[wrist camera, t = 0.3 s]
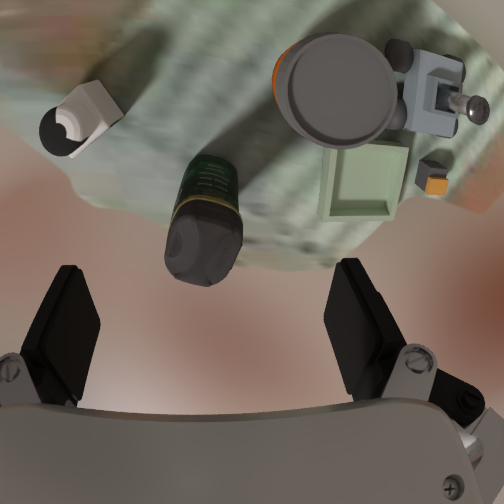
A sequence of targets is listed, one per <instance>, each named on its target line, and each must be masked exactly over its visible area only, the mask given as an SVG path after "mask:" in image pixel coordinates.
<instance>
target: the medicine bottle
mask: <svg viewBox="0 0 504 504" xmlns="http://www.w3.org/2000/svg"><path fill="white" fill-rule="evenodd" d="M123 117H124V114H123V113H122V111H121V110H120V109H119V107H118V106H117V104H116V103H115V102H114V100H113V99H112V98H111V96H110V95H109V93H108V92H107V91H106V89H105V88H104V86H103V85H102V84H101V82H100V81H99V80H95V81H91V82H88V83H85V84H81V85H79V86H77V87H76V88H75V89H74V90H73V91H72V92H71V93H70V94H69V95H67V96H66V97H65V98H64V99H63V100H62V101H61V102H60V103H59V104H58V105H57V106H56V107H54V108H52V109H51V110H49V111H48V112H47V113H46V114H45V115H44V117H43V118H42V120H41V123H40V127H39V135H40V140H41V142H42V145H43V146H44V148H45V149H46V150H47V151H48V152H50V153H51V154H53V155H56V156H67V155H69V156H70V157H71V158H75V157H76V156H77V155H78V154H79V153H80V152H82V151H83V150H84V149H85V148H86V147H87V146H89V145H90V144H91V143H92V142H93V141H95V140H96V139H97V138H98V137H99V136H101V135H102V134H103V133H104V132H106V131H107V130H108V129H109V128H111V127H112V126H113V125H114V124H116V123H117V122H118V121H119V120H121V119H122V118H123Z"/></svg>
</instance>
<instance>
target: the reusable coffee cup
mask: <svg viewBox="0 0 504 504" xmlns="http://www.w3.org/2000/svg"><path fill="white" fill-rule="evenodd" d="M272 88H273V92H274V96H275V100H276V102H277V104H278V107H279V109H280V111H281V113H282V115H283V117H284V118H285V119H286V121H287V122H288V124H289V125H290V126H291V127H292V128H293V129H294V130H295V131H296V132H298V133H299V134H301V135H302V136H304V137H305V138H307V139H309V140H310V141H312V142H314V143H316V144H318V145H321V146H323V147H326V148H331V149H337V150H340V149H352V148H357V147H360V146H362V145H365V144H367V143H369V142H370V141H372V140H373V139H375V138H376V137H377V136H378V135H380V134H381V133H382V132H383V131H384V129H385V128H386V127H387V125H388V124H389V122H390V121H391V118H392V116H393V114H394V112H395V108H396V104H397V93H398V91H397V83H396V78H395V75H394V72H393V69H392V68H391V66H390V64H389V62H388V60H387V59H386V58H385V57H384V55H383V54H382V53H381V52H380V51H379V50H378V49H377V48H376V47H374V46H373V45H372V44H370V43H369V42H367V41H365V40H363V39H361V38H358V37H355V36H352V35H347V34H341V33H331V32H327V33H319V34H315V35H312V36H309V37H306V38H305V39H303V40H301V41H299V42H297V43H296V44H294V45H292V46H291V47H290V48H289V49H287V50H286V51H285V52H284V53H283V54H282V55H281V56H280V58H279V59H278V61H277V62H276V65H275V67H274V70H273V75H272Z"/></svg>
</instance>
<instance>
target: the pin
mask: <svg viewBox="0 0 504 504" xmlns="http://www.w3.org/2000/svg"><path fill="white" fill-rule="evenodd" d="M435 103H437V104H439V105H442V106H444V107H447V108H449V109H452V110H454V111H457V112H459V113H461V114H464V115H466V116H467V117H468V119H469V120H470V121H471V122H473V123H475V124H477V125H482V124H484V123H485V122H486V121H487V119H488V117H489V113H490V108H489V104H488V102H487V100H486V99H485V98H483V97H480V96H477V95H474V96H472V97H469V96H467V95H464V94H461V93H458V92H455V91H452V90H449V89H445V88H442V87H437V94H436V102H435Z"/></svg>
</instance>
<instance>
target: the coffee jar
mask: <svg viewBox="0 0 504 504" xmlns="http://www.w3.org/2000/svg"><path fill="white" fill-rule="evenodd" d="M242 241H243V222H242V218H241V215H240V213H239V205H238V179H237V171H236V169H235V167H234V166H233V165H232V164H231V163H229V162H227V161H225V160H223V159H220V158H217V157H214V156H208V155H202V156H198V157H196V158H194V159H193V160H192V161H191V162H190V163H189V165H188V167H187V169H186V171H185V174H184V176H183V179H182V182H181V186H180V189H179V193H178V196H177V199H176V202H175V206H174V210H173V213H172V218H171V222H170V227H169V232H168V236H167V243H166V250H165V256H164V257H165V258H164V259H165V264H166V267H167V269H168V270H169V272H170V273H171V274H172V275H173V276H174V277H175V278H176V279H178V280H181V281H183V282H187V283H191V284H195V285H199V286H204V287H209V286H211V285H214V284H216V283H219V282H220V281H221V280H223V279H224V278H225V277H226V276H227V274H228V273H229V271H230V270H231V269H232V267H233V264H234V262H235V260H236V258H237V255H238V253H239V251H240V249H241V247H242Z"/></svg>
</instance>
